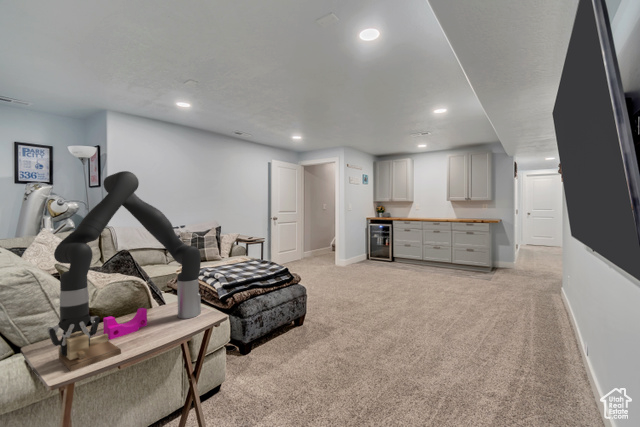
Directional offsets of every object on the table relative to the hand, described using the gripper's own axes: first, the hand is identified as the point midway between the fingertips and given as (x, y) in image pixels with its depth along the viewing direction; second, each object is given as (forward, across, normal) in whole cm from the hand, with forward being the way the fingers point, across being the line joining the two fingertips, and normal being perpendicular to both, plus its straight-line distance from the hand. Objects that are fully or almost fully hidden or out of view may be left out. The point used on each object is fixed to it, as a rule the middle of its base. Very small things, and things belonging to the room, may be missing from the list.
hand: (75, 351), depth 100 cm
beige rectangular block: (+1, 0, 0) cm, 1 cm away
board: (+3, -4, 0) cm, 5 cm away
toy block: (+3, -21, -13) cm, 24 cm away
